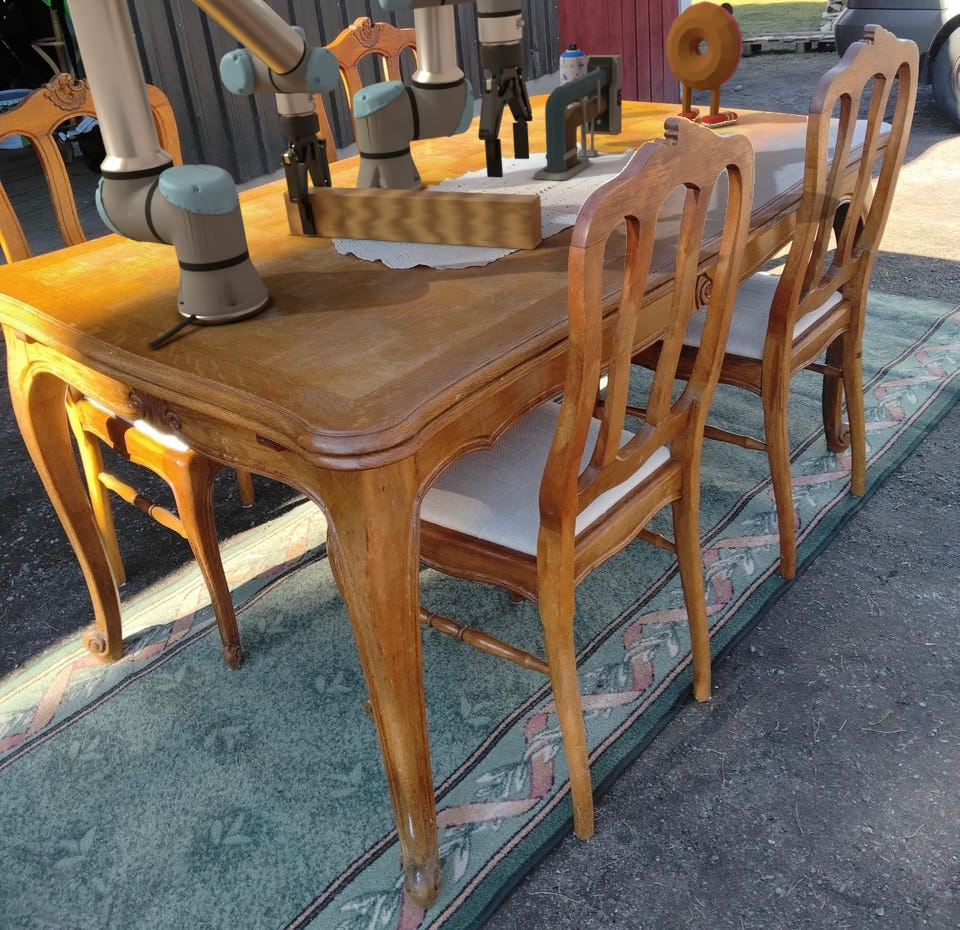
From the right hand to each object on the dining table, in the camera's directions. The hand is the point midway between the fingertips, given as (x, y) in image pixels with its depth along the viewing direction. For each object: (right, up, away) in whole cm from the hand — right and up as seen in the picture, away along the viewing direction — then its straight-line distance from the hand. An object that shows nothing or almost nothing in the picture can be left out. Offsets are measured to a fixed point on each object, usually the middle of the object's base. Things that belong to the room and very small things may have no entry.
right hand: (509, 167), depth 178 cm
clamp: (+19, +19, +58) cm, 64 cm away
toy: (+55, +38, +84) cm, 107 cm away
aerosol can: (+22, +45, +100) cm, 112 cm away
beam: (-19, -9, +16) cm, 26 cm away
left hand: (-39, -6, +23) cm, 46 cm away
